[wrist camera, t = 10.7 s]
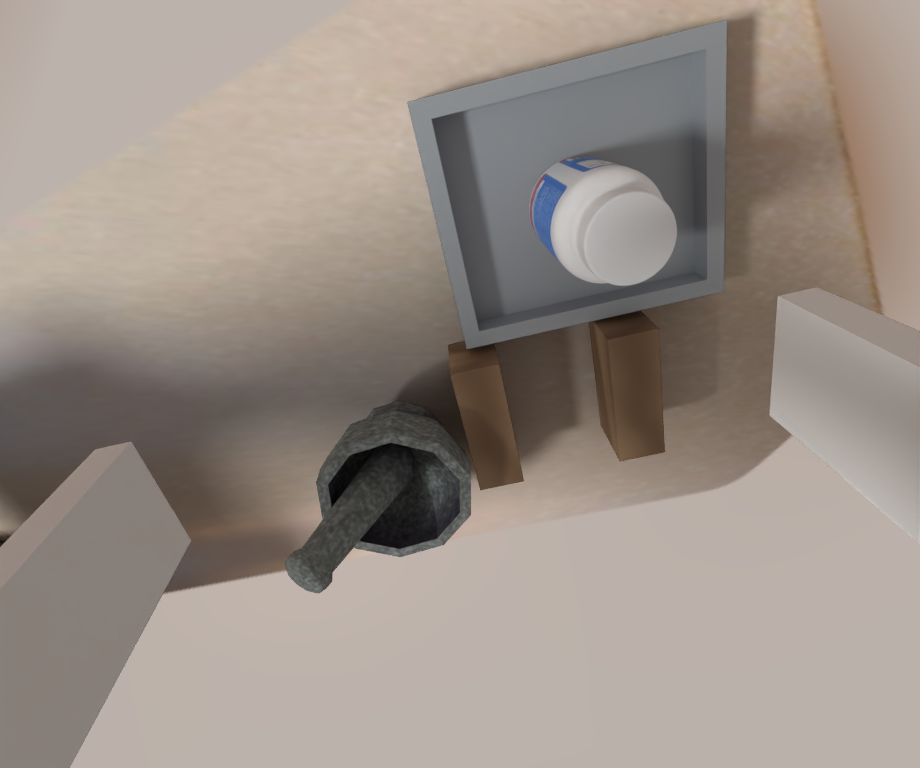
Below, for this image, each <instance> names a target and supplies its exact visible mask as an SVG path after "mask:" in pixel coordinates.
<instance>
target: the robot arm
mask: <svg viewBox="0 0 920 768" xmlns="http://www.w3.org/2000/svg"><path fill="white" fill-rule="evenodd" d="M770 416H771V417H772V418H773V419H774V420H775V421H777V422H778V423H779V424H780V425H781V426H783V427H784V428H785V429H786V430H787V431H788V432H790V433H791V434H792V435H793V436H794V437H795V438H797V439H798V440H799V441H800V442H801V443H802V444H804V445H805V446H806V447H807V448H808V449H810V450H811V451H812V452H813V453H814V454H815V455H816V456H818V457H819V458H820V459H821V460H822V461H823V462H825V463H826V464H827V465H828V466H829V467H831V468H832V469H833V470H834V471H835V472H836V473H837V474H839V475H840V476H841V477H842V478H844V479H845V480H846V481H847V482H848V483H849V484H850V485H852V486H853V487H854V488H855V489H856V490H857V491H859V492H860V493H861V494H862V495H863V496H865V497H866V498H867V499H868V500H869V501H870V502H871V503H873V504H874V505H875V506H876V507H877V508H878V509H880V510H881V511H882V512H883V513H885V514H886V515H887V516H888V517H889V518H890V519H891V520H892V521H894V522H895V523H896V524H897V525H898V526H899V527H901V528H902V529H903V530H904V531H905V532H907V533H908V534H909V535H910V536H912V538H914V539H915V540H916V541H917V542H918V543H919V544H920V331H918V330H916V329H913V328H911V327H909V326H906V325H904V324H902V323H899V322H897V321H895V320H892V319H890V318H888V317H886V316H883V315H881V314H879V313H876V312H874V311H872V310H869V309H867V308H865V307H862V306H860V305H858V304H855V303H853V302H851V301H848V300H846V299H844V298H841V297H839V296H837V295H834V294H832V293H830V292H827V291H825V290H823V289H820V288H818V287H816V288H811V289H807V290H802V291H798V292H793V293H789V294H784V295H780V296H778V299H777V313H776V328H775V342H774V357H773V371H772V386H771V400H770ZM190 542H191V539H190V538H189V536H188V534H187V533H186V531H185V529H184V528H183V526H182V524H181V523H180V521H179V519H178V518H177V516H176V514H175V513H174V511H173V510H172V508H171V506H170V505H169V503H168V501H167V500H166V498H165V496H164V495H163V493H162V491H161V490H160V488H159V486H158V485H157V483H156V481H155V480H154V478H153V477H152V475H151V473H150V472H149V470H148V468H147V467H146V465H145V463H144V462H143V460H142V458H141V457H140V455H139V453H138V452H137V450H136V448H135V447H134V445H133V444H132V442H131V441H130V442H126V443H121V444H117V445H112V446H108V447H103V448H99V449H95V450H94V451H93V452H92V453H91V454H90V455H89V456H88V457H87V458H86V459H85V460H84V461H83V462H82V463H81V464H80V465H79V466H78V467H77V469H76V470H75V471H74V472H73V473H72V474H71V475H70V476H69V477H68V478H67V479H66V480H65V481H64V482H63V483H62V484H61V485H60V486H59V487H58V488H57V489H56V490H55V491H54V492H53V493H52V494H51V495H50V496H49V497H48V498H47V499H46V500H45V501H44V503H43V504H42V505H41V506H40V507H39V508H38V509H37V510H36V511H35V512H34V513H33V514H32V515H31V516H30V517H29V518H28V519H27V520H26V521H25V522H24V523H23V524H22V525H21V526H20V527H19V528H18V529H17V530H16V531H15V532H14V533H13V534H12V535H11V537H10V538H9V539H8V540H7V541H6V542H5V543H3V542H0V768H70V766H71V764H72V763H73V761H74V759H75V757H76V755H77V753H78V751H79V749H80V748H81V746H82V744H83V742H84V740H85V738H86V736H87V735H88V733H89V731H90V729H91V727H92V725H93V723H94V721H95V720H96V718H97V716H98V714H99V712H100V710H101V708H102V707H103V705H104V703H105V701H106V699H107V697H108V695H109V693H110V692H111V690H112V688H113V686H114V684H115V682H116V680H117V678H118V677H119V675H120V673H121V671H122V669H123V667H124V666H125V663H126V662H127V660H128V658H129V656H130V654H131V652H132V651H133V649H134V647H135V645H136V643H137V641H138V639H139V637H140V636H141V634H142V632H143V630H144V628H145V626H146V624H147V623H148V621H149V619H150V617H151V615H152V613H153V611H154V610H155V608H156V606H157V604H158V602H159V600H160V598H161V596H162V595H163V593H164V591H165V589H166V587H167V585H168V583H169V582H170V580H171V578H172V576H173V574H174V572H175V570H176V568H177V567H178V565H179V563H180V561H181V559H182V557H183V555H184V554H185V552H186V550H187V548H188V546H189V544H190Z"/></svg>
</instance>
